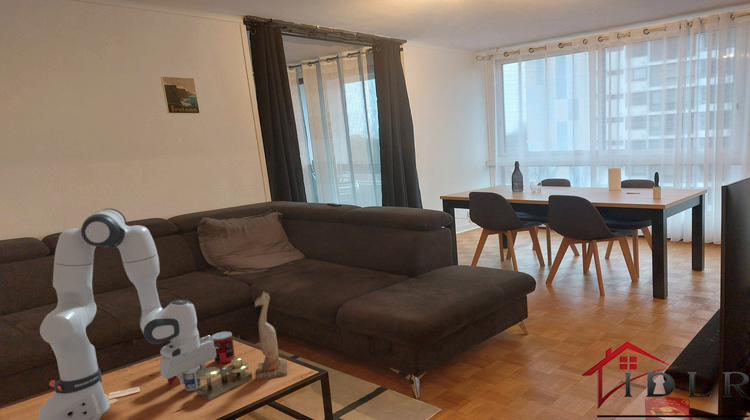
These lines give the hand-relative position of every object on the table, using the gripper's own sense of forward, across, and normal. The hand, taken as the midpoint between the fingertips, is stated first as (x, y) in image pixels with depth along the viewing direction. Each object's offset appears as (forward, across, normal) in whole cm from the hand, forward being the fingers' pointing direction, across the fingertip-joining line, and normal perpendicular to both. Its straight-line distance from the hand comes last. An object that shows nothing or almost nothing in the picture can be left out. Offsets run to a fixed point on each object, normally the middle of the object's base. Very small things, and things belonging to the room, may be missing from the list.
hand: (192, 379), depth 177 cm
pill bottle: (+3, 0, 0) cm, 3 cm away
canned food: (+3, -20, -10) cm, 23 cm away
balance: (+3, -7, +10) cm, 13 cm away
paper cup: (+3, +1, -10) cm, 11 cm away
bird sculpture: (+3, -24, +16) cm, 29 cm away
